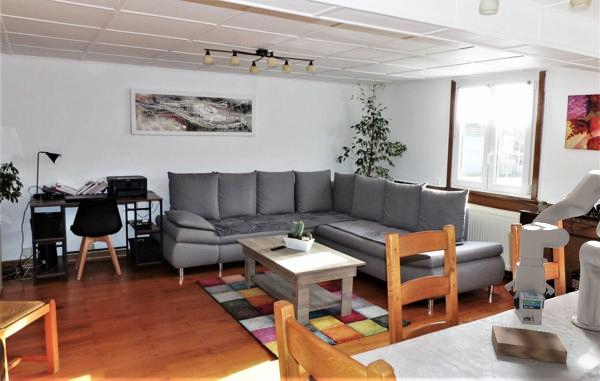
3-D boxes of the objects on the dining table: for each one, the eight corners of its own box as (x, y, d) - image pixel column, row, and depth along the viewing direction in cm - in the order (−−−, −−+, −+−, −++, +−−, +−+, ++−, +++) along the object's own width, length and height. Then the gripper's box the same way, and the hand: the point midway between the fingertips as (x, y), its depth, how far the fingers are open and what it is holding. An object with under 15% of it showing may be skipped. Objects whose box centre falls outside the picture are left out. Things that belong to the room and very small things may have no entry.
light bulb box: (542, 326, 162) (544, 296, 160) (521, 324, 163) (522, 295, 162) (533, 314, 172) (535, 286, 171) (513, 312, 174) (515, 284, 172)
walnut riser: (555, 344, 157) (556, 333, 157) (566, 363, 144) (567, 351, 143) (491, 336, 163) (492, 325, 162) (496, 354, 149) (497, 342, 149)
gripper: (555, 260, 166) (552, 307, 168) (502, 256, 171) (500, 303, 173) (560, 266, 159) (557, 315, 161) (505, 262, 164) (503, 310, 166)
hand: (528, 308), depth 167 cm, fingers closed on light bulb box, 7 cm apart
